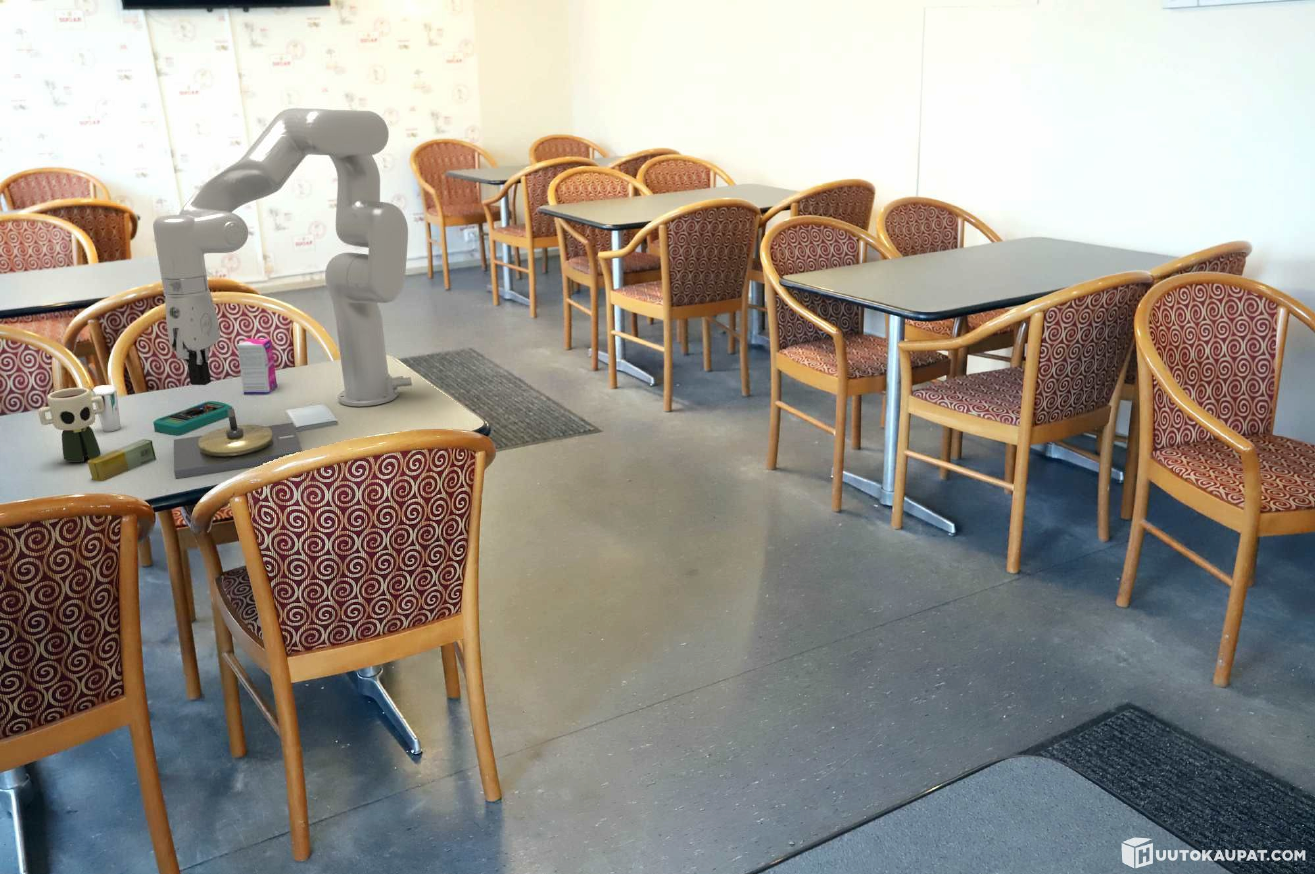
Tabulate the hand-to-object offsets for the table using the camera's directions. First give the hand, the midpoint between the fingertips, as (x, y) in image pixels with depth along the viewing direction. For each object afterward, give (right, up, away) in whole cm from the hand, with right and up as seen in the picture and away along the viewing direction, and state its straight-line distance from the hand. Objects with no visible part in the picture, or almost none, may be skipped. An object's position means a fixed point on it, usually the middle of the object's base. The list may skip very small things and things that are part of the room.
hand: (200, 383), depth 197 cm
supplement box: (-4, 0, +42) cm, 42 cm away
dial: (+5, -11, +4) cm, 13 cm away
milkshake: (-26, -9, +19) cm, 33 cm away
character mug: (-24, -14, +3) cm, 28 cm away
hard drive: (+13, -7, +22) cm, 27 cm away
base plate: (+5, -13, +5) cm, 15 cm away
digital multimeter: (-11, -8, +22) cm, 26 cm away
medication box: (-13, -16, -2) cm, 21 cm away
